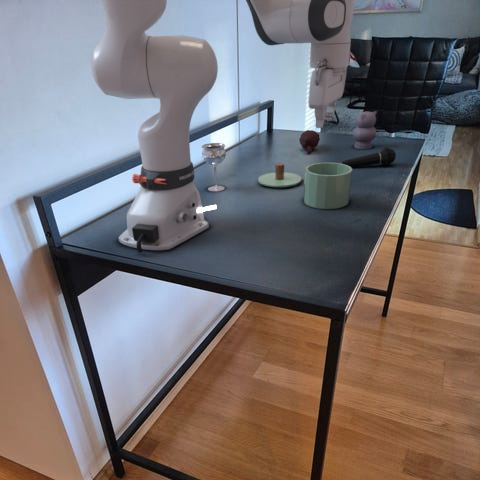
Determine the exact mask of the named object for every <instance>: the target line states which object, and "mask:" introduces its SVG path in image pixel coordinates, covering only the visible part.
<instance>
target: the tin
mask: <svg viewBox="0 0 480 480" xmlns="http://www.w3.org/2000/svg"><path fill="white" fill-rule="evenodd" d="M341 163H342V162H327V161H326V162H316V163H311V164H308V165H307V166H306V167H305V168H304V182H303V183H304V186H303V188H304V189H303V203H304V204H305V205H306V206H308V207H311V208H315V209H320V210H334V209H340V208H344V207H345V206H347V205H349V202H350V197H351V187H352V179H353V167H350V166H348V165H345V164H341Z"/></svg>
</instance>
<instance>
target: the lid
mask: <svg viewBox="0 0 480 480" xmlns="http://www.w3.org/2000/svg"><path fill="white" fill-rule="evenodd" d="M274 166H275V171H274V172H269V173H264V174H261V175H260V176H259V177H257V182H258V183H259V184H260V185H262V186H266V187H271V188H288V187H293V186H296V185H298V184H300V183H301V182H302V177H301V176H300V175H299V174H296V173H292V172H286V171H285V163H283V162H278V163H275V165H274Z"/></svg>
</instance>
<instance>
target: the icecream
mask: <svg viewBox="0 0 480 480" xmlns="http://www.w3.org/2000/svg"><path fill="white" fill-rule="evenodd" d="M320 140H321V139H320V133H318V132H317V131H315V130H312V129H306V130H305V131H304V132H302V133H301V134H300V137H299V145H300V146H301V148H302V149H304V150H306V154H307V155H310V154H311V153H312V150H314V149H315V148H316V147H318V146H319V142H320Z"/></svg>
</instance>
